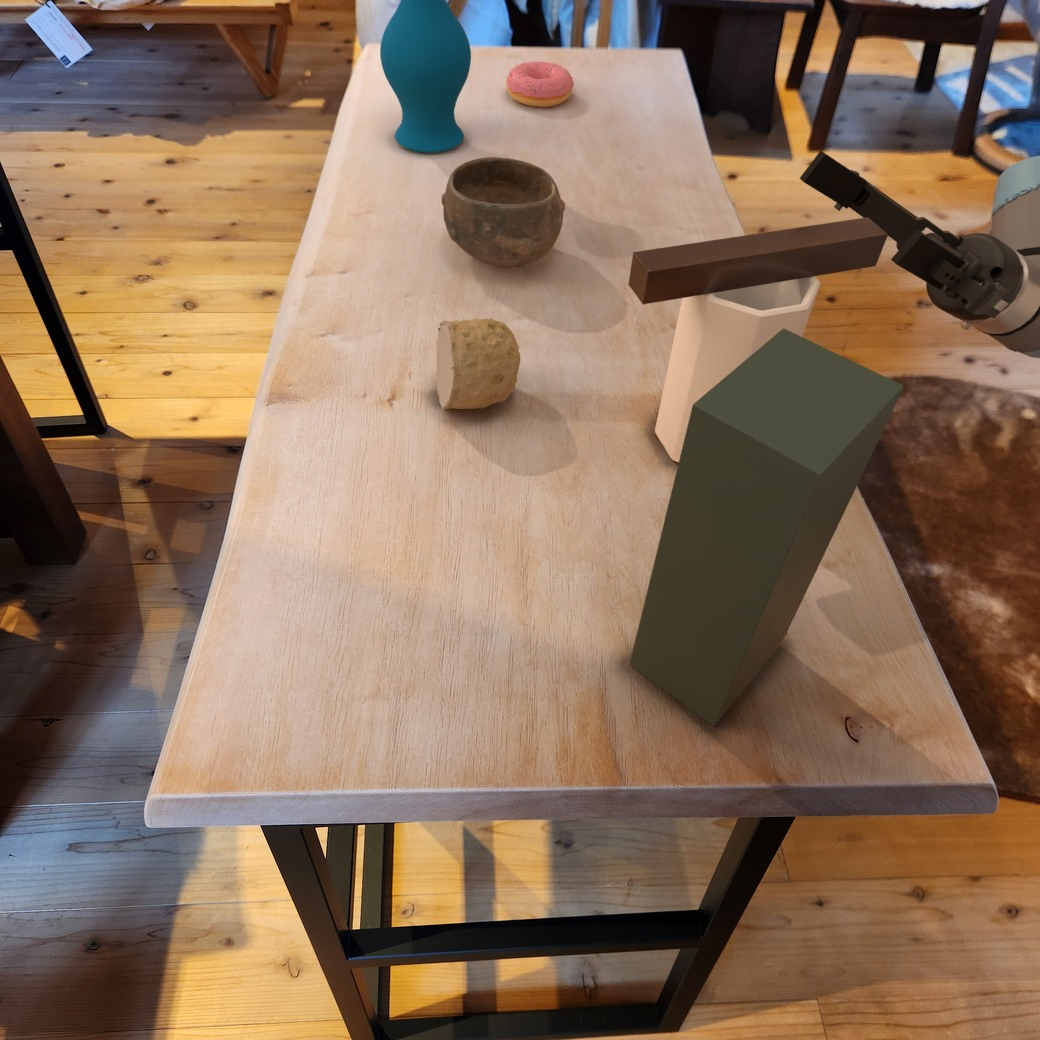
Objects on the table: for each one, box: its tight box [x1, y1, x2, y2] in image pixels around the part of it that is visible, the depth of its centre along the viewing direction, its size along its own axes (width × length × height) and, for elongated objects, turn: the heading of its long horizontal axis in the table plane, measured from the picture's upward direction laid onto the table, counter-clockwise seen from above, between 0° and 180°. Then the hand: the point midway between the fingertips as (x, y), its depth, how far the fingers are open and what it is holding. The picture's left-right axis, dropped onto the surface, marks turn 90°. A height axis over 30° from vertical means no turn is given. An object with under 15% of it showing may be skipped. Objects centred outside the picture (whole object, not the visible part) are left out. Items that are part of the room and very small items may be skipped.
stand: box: [628, 328, 905, 727], centre depth 58 cm, size 8×10×27 cm
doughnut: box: [505, 60, 575, 108], centre depth 137 cm, size 11×11×4 cm
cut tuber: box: [436, 317, 521, 410], centre depth 85 cm, size 10×10×10 cm
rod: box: [628, 217, 889, 305], centre depth 70 cm, size 3×22×3 cm, turn 108°
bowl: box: [441, 156, 566, 270], centre depth 103 cm, size 14×15×10 cm
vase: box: [379, 0, 472, 154], centre depth 117 cm, size 12×13×28 cm
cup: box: [654, 276, 821, 463], centre depth 78 cm, size 11×11×18 cm
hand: (856, 204), depth 69 cm, fingers open, 13 cm apart
